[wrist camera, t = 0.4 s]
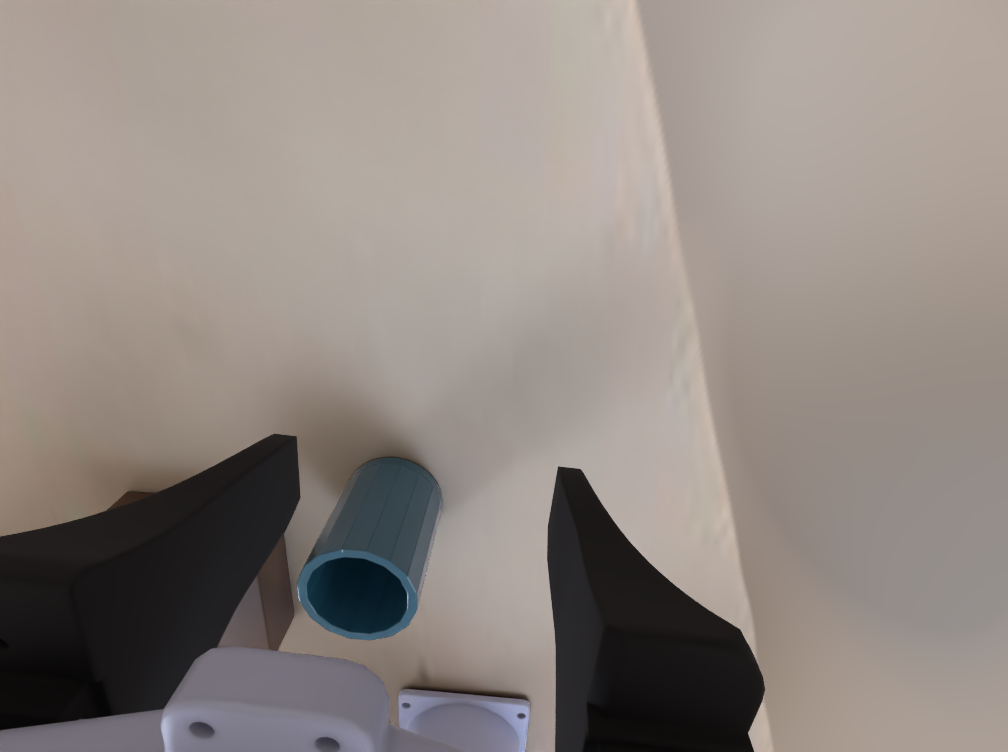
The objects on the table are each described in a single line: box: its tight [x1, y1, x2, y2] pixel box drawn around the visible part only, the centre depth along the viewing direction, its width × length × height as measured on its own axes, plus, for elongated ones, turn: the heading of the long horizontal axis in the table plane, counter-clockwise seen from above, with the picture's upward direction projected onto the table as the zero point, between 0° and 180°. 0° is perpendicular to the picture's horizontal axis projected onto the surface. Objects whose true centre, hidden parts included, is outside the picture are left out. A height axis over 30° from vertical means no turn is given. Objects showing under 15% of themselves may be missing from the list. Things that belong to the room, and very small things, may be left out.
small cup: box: [297, 457, 442, 640], centre depth 25 cm, size 5×5×6 cm
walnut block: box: [106, 492, 294, 651], centre depth 29 cm, size 8×8×3 cm
